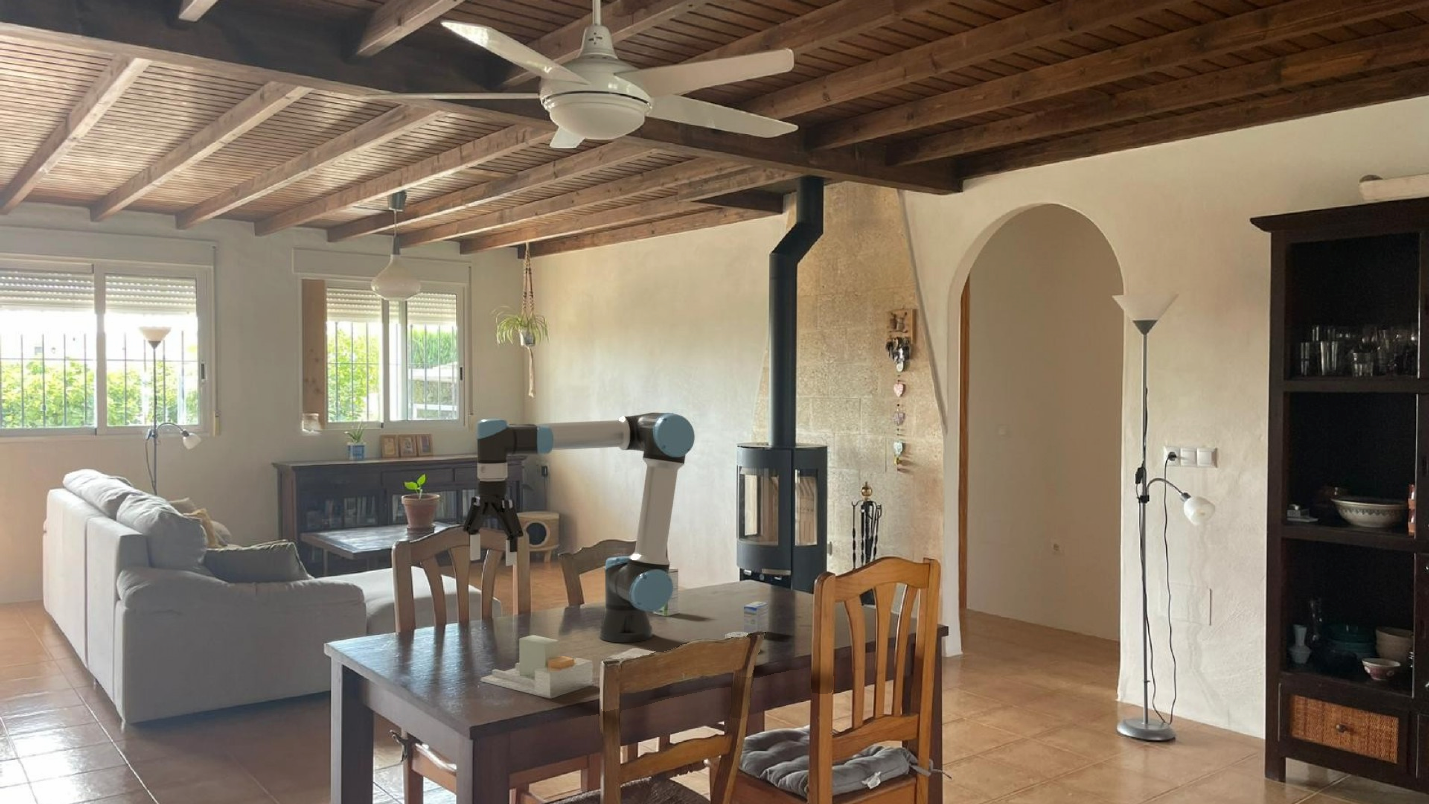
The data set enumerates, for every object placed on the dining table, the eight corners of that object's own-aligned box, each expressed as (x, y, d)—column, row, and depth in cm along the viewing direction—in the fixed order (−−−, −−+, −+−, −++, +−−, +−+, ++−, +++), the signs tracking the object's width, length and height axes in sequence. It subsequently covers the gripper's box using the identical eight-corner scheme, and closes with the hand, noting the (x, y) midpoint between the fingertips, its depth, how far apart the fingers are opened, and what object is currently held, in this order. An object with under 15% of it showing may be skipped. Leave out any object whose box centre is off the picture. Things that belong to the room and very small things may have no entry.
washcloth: (632, 656, 283) (632, 644, 283) (686, 666, 273) (686, 654, 273) (603, 666, 273) (603, 654, 273) (659, 676, 263) (659, 664, 263)
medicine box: (755, 630, 310) (755, 600, 310) (768, 632, 308) (768, 602, 308) (743, 636, 303) (743, 605, 303) (757, 637, 301) (757, 607, 301)
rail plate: (523, 668, 268) (523, 646, 268) (592, 684, 254) (592, 660, 254) (480, 681, 257) (480, 657, 257) (550, 698, 243) (550, 673, 243)
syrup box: (652, 613, 332) (652, 567, 332) (666, 610, 336) (666, 565, 336) (665, 616, 328) (665, 570, 328) (679, 613, 333) (678, 567, 332)
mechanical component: (759, 654, 283) (754, 645, 293) (759, 638, 283) (754, 629, 293) (722, 655, 282) (718, 646, 292) (722, 639, 282) (718, 630, 292)
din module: (533, 675, 259) (533, 635, 259) (559, 681, 254) (558, 640, 254) (519, 679, 256) (519, 638, 256) (545, 686, 250) (544, 644, 250)
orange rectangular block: (562, 680, 253) (562, 656, 253) (574, 683, 251) (574, 658, 251) (548, 685, 250) (548, 660, 250) (560, 688, 247) (560, 662, 247)
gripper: (449, 477, 275) (449, 559, 275) (514, 483, 259) (515, 569, 260) (471, 475, 281) (472, 555, 281) (537, 481, 265) (537, 565, 266)
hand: (492, 562), depth 270 cm, fingers open, 13 cm apart
